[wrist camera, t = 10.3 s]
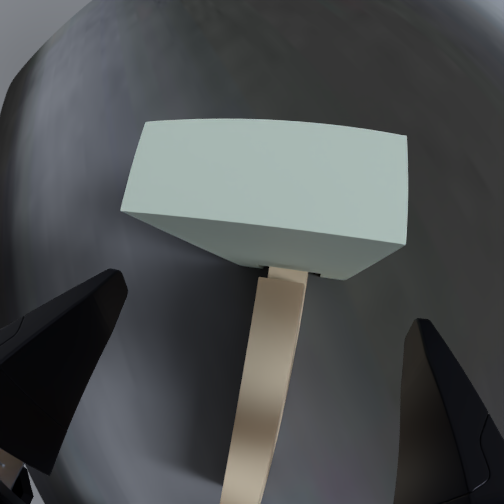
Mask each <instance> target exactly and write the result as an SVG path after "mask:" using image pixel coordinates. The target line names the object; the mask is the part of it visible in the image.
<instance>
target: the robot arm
mask: <svg viewBox="0 0 504 504" xmlns="http://www.w3.org/2000/svg"><path fill="white" fill-rule="evenodd" d="M127 294H128V289H127V286H126V283H125V280H124V277H123V275H122V273H121V271H119V270H115V269H107V270H106V271H104V272H102V273H100V274H98V275H96V276H94V277H92V278H91V279H89V280H87V281H85V282H83V283H81V284H80V285H78V286H76V287H74V288H72V289H70V290H69V291H67V292H65V293H63V294H61V295H60V296H58V297H56V298H54V299H53V300H51V301H49V302H47V303H46V304H44V305H42V306H40V307H39V308H37V309H35V310H33V311H32V312H30V313H28V314H26V315H25V316H23V317H21V318H20V319H18V320H16V321H15V322H13V323H11V324H9V325H8V326H6V327H4V328H2V329H0V504H30V503H31V501H32V499H33V497H34V496H33V492H32V489H31V485H30V480H29V476H28V471H27V469H26V468H25V467H24V464H25V463H26V464H27V465H29V466H31V467H33V468H35V469H36V470H38V471H40V472H42V473H44V474H46V475H48V476H50V474H51V472H52V469H53V467H54V464H55V461H56V458H57V456H58V453H59V450H60V448H61V445H62V443H63V440H64V438H65V435H66V433H67V430H68V427H69V425H70V423H71V420H72V418H73V415H74V413H75V411H76V408H77V406H78V404H79V401H80V399H81V397H82V395H83V393H84V390H85V388H86V386H87V384H88V382H89V379H90V377H91V375H92V373H93V371H94V369H95V367H96V365H97V362H98V360H99V358H100V356H101V354H102V352H103V350H104V348H105V346H106V344H107V342H108V340H109V338H110V336H111V334H112V332H113V329H114V327H115V324H116V322H117V319H118V317H119V314H120V312H121V309H122V307H123V305H124V302H125V300H126V297H127ZM393 504H504V439H503V438H502V436H501V434H500V432H499V431H498V429H497V427H496V425H495V423H494V422H493V420H492V418H491V416H490V414H488V411H487V409H486V407H485V406H484V404H483V402H482V400H481V399H480V397H479V395H478V393H477V392H476V390H475V388H474V387H473V385H472V383H471V382H470V380H469V379H468V377H467V375H466V374H465V372H464V370H463V369H462V367H461V366H460V364H459V363H458V361H457V360H456V358H455V356H454V355H453V353H452V352H451V350H450V349H449V347H448V346H447V344H446V343H445V341H444V340H443V338H442V337H441V336H440V334H439V333H438V331H437V330H436V328H435V327H434V325H433V324H432V323H431V321H430V320H428V319H421V318H417V319H415V320H414V322H413V324H412V326H411V328H410V330H409V332H408V334H407V336H406V338H405V342H404V357H403V370H402V381H401V403H400V440H399V456H398V468H397V479H396V488H395V496H394V503H393Z"/></svg>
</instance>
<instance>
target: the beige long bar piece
mask: <svg viewBox="0 0 504 504" xmlns="http://www.w3.org/2000/svg"><path fill="white" fill-rule="evenodd" d="M307 278H308V272H305V271H298V270H291V269H283V268H276V267H269V272H268V278H263V277H259V279H258V285H257V292H256V298H255V304H254V310H253V316H252V322H251V328H250V334H249V340H248V346H247V352H246V358H245V364H244V370H243V376H242V382H241V387H240V393H239V399H238V405H237V411H236V416H235V422H234V428H233V433H232V439H231V445H230V450H229V456H228V462H227V467H226V473H225V478H224V484H223V489H222V495H221V500H220V504H260V503H261V500H262V497H263V493H264V489H265V485H266V482H267V478H268V474H269V470H270V466H271V462H272V458H273V454H274V450H275V445H276V441H277V437H278V433H279V428H280V424H281V419H282V415H283V410H284V405H285V401H286V396H287V391H288V386H289V381H290V376H291V371H292V366H293V361H294V355H295V350H296V345H297V339H298V333H299V328H300V322H301V316H302V310H303V304H304V297H305V291H306V285H307Z"/></svg>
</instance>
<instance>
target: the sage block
mask: <svg viewBox="0 0 504 504" xmlns="http://www.w3.org/2000/svg"><path fill="white" fill-rule="evenodd" d="M120 211H121V212H124V213H126V214H128V215H130V216H132V217H134V218H136V219H139V220H141V221H143V222H145V223H147V224H149V225H152V226H154V227H156V228H158V229H160V230H162V231H165V232H167V233H169V234H171V235H173V236H176V237H178V238H180V239H182V240H184V241H186V242H189V243H191V244H193V245H195V246H197V247H200V248H202V249H204V250H206V251H209V252H211V253H213V254H215V255H217V256H220V257H222V258H224V259H226V260H229V261H231V262H233V263H235V264H238V265H240V266H247V267H254V268H260V269H263V267H264V266H269V267H276V268H283V269H291V270H298V271H305V272H312V273H319V274H321V275H320V277H324V278H331V279H338V280H346V279H348V278H350V277H352V276H353V275H355V274H357V273H359V272H360V271H362V270H364V269H366V268H367V267H369V266H371V265H373V264H374V263H376V262H378V261H379V260H381V259H383V258H385V257H386V256H388V255H390V254H391V253H393V252H395V251H396V250H398V249H400V248H401V247H403V246H404V245H406V234H407V212H408V154H407V136H403V135H398V134H393V133H387V132H381V131H375V130H368V129H361V128H354V127H347V126H339V125H330V124H320V123H309V122H297V121H282V120H261V119H186V120H166V121H151V122H146V123H145V126H144V129H143V132H142V135H141V138H140V141H139V144H138V147H137V150H136V154H135V157H134V161H133V164H132V167H131V171H130V175H129V178H128V182H127V186H126V189H125V193H124V197H123V201H122V205H121V210H120Z"/></svg>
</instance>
